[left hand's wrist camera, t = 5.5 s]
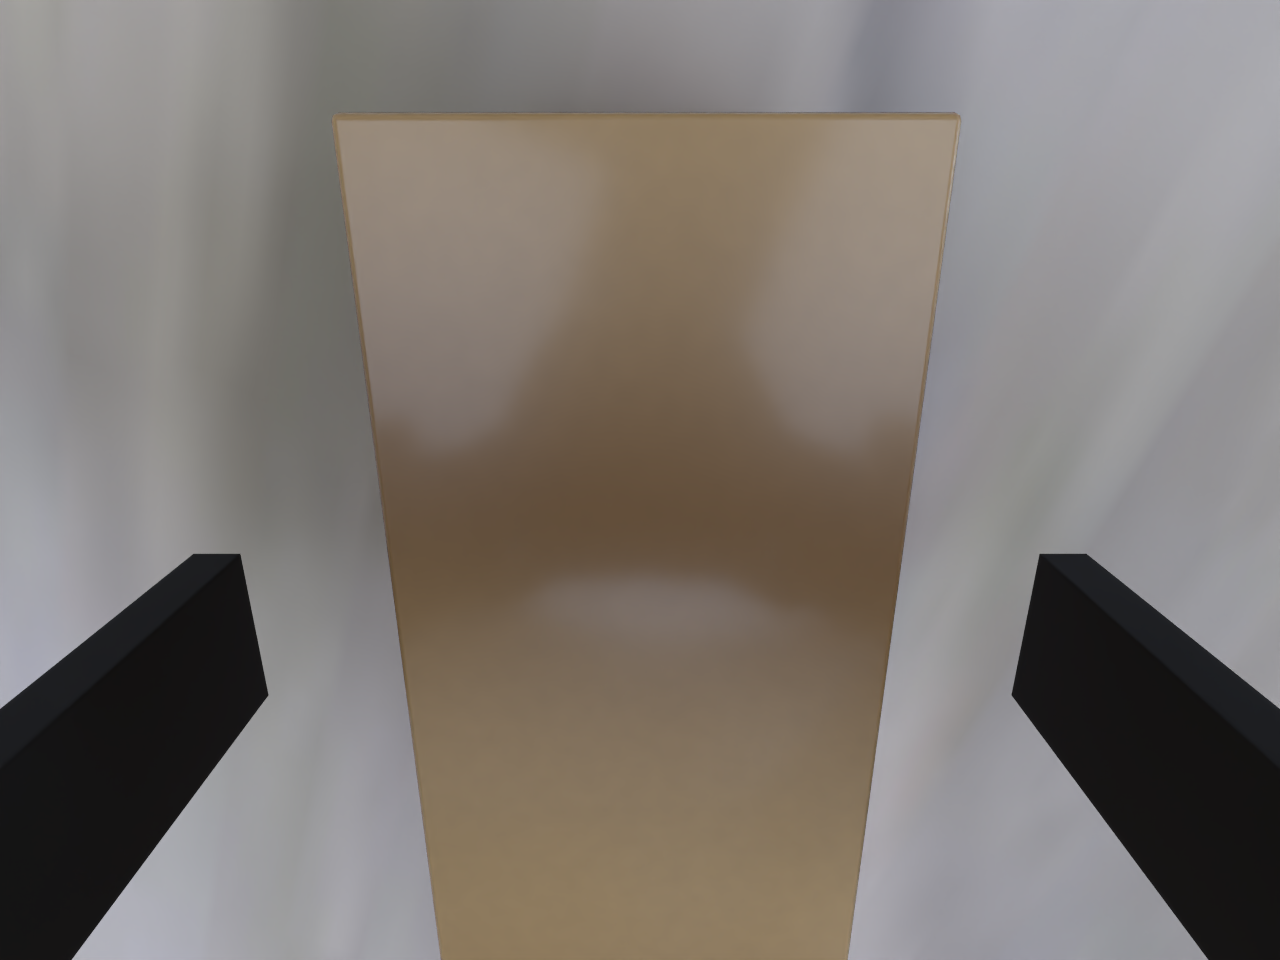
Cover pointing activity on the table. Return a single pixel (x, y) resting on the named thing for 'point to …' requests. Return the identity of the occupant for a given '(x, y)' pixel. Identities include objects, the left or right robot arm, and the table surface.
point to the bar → (645, 505)
